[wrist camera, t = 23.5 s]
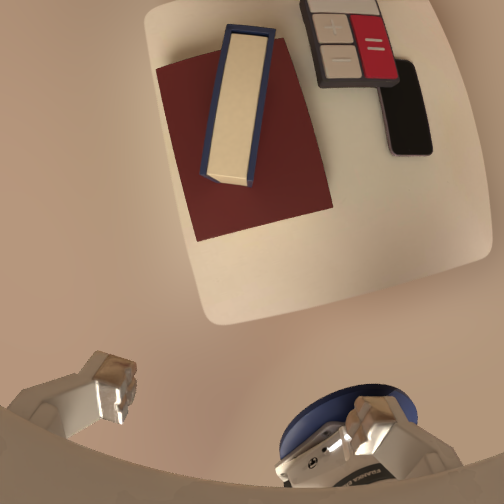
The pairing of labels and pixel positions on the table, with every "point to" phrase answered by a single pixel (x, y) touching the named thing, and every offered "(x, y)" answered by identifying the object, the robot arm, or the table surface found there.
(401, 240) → the table surface
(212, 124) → the hardcover book
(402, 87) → the smartphone
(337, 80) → the calculator
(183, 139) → the encyclopedia
